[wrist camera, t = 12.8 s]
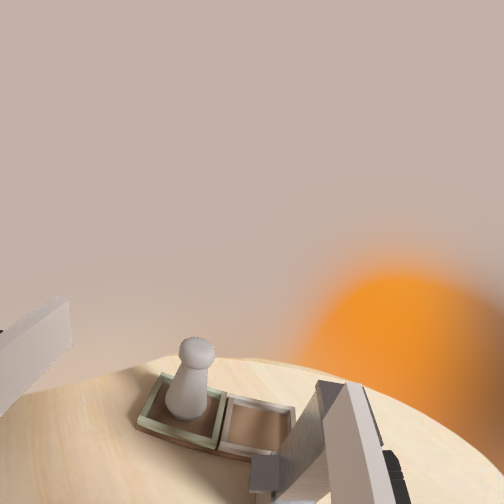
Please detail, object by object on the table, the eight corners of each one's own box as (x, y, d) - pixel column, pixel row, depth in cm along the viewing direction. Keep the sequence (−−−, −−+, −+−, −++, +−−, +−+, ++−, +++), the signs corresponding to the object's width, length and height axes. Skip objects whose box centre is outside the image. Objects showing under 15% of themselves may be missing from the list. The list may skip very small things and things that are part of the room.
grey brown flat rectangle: (290, 415, 41) (296, 406, 40) (292, 468, 30) (299, 460, 29) (159, 380, 40) (160, 370, 40) (135, 428, 30) (135, 419, 29)
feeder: (293, 476, 29) (363, 385, 23) (294, 523, 21) (385, 447, 16) (238, 468, 28) (291, 372, 23) (232, 517, 21) (295, 441, 16)
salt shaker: (158, 400, 35) (167, 331, 32) (192, 394, 39) (209, 327, 35) (173, 430, 31) (186, 363, 27) (210, 422, 34) (232, 356, 31)
